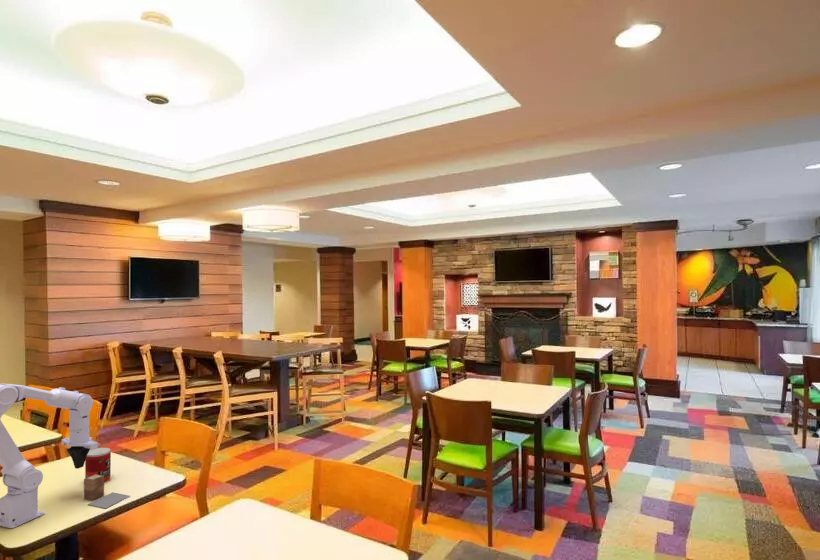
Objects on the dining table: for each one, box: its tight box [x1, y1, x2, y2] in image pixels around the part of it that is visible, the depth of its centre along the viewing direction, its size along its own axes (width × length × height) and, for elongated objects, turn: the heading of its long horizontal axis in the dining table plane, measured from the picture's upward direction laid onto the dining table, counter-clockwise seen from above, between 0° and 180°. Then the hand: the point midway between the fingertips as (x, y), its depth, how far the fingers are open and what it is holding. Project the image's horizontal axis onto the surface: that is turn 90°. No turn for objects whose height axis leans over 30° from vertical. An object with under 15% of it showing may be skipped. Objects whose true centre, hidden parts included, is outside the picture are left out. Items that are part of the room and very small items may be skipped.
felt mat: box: [87, 492, 130, 510], centre depth 155 cm, size 9×8×1 cm
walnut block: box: [83, 474, 105, 502], centre depth 158 cm, size 4×4×7 cm
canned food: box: [84, 447, 112, 484], centre depth 170 cm, size 8×8×11 cm
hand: (79, 467), depth 160 cm, fingers closed
